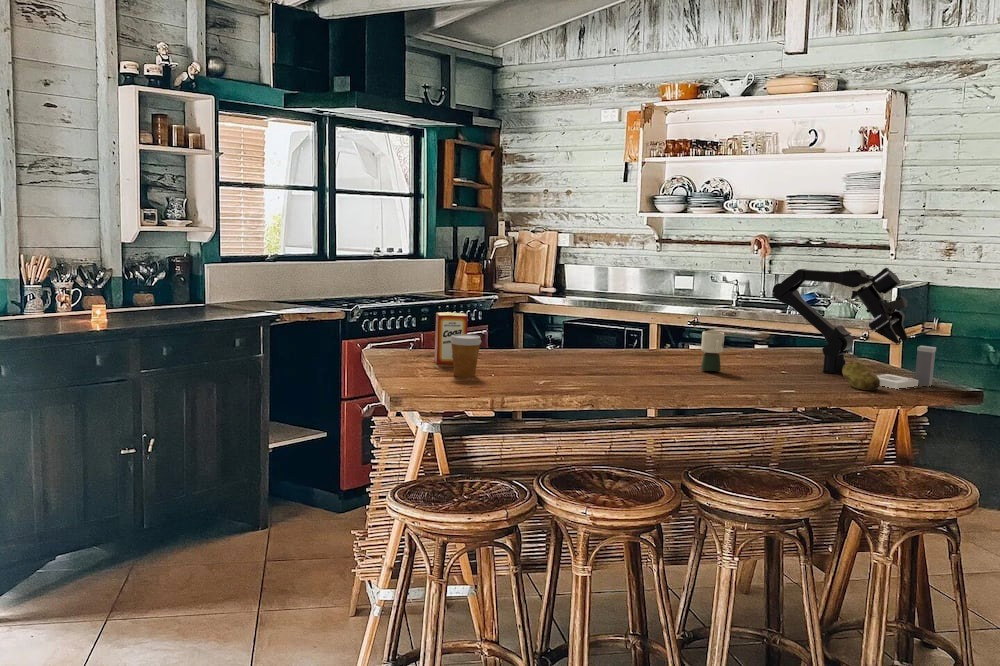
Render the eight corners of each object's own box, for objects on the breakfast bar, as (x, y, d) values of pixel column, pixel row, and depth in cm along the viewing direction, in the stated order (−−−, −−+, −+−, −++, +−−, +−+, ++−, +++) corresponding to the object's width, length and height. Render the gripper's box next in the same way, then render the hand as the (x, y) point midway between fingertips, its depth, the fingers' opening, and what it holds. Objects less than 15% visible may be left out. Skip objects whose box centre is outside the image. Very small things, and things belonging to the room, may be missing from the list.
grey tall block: (913, 385, 314) (917, 347, 312) (917, 383, 318) (921, 345, 316) (928, 387, 311) (932, 348, 309) (932, 385, 315) (936, 347, 313)
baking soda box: (463, 360, 324) (464, 312, 321) (465, 363, 317) (467, 314, 315) (434, 360, 322) (436, 311, 320) (436, 363, 316) (438, 314, 313)
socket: (866, 383, 314) (867, 374, 314) (887, 380, 320) (888, 372, 320) (896, 389, 305) (897, 381, 305) (917, 387, 311) (918, 378, 311)
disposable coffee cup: (473, 372, 304) (475, 333, 302) (484, 378, 295) (486, 338, 293) (444, 372, 300) (446, 334, 299) (454, 378, 292) (455, 339, 290)
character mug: (726, 375, 318) (729, 335, 316) (705, 374, 317) (708, 334, 315) (715, 368, 328) (718, 330, 326) (694, 368, 327) (697, 329, 326)
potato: (856, 392, 298) (858, 366, 297) (836, 383, 311) (839, 358, 310) (882, 392, 299) (884, 366, 298) (861, 384, 312) (864, 359, 311)
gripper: (885, 289, 309) (915, 330, 304) (903, 286, 323) (932, 325, 319) (856, 309, 315) (885, 350, 310) (875, 305, 329) (903, 344, 325)
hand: (902, 341), depth 316 cm, fingers open, 9 cm apart
